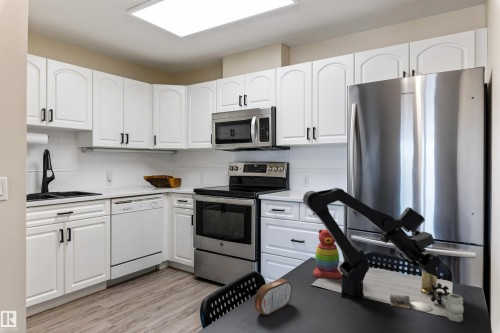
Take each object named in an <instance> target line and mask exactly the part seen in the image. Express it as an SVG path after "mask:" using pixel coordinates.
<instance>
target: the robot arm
mask: <svg viewBox="0 0 500 333" xmlns="http://www.w3.org/2000/svg"><path fill="white" fill-rule="evenodd" d="M302 202H303V204H304V205H305V206H306V207H307V208H308V209H309V211H310V212H312V213H313V214H314V215H315V216H316V217H317V218H318V220H320V223H322V225H323V226H324V228H325V230H327V231H328V232H329V233H330V235H331V236H332V238H333V239H334V241H335V243H336V246H337V247H338V248H339V250H340V251H341V254H342V258H343V260H344V261H342V263H341V264H340V265H338V269H339V271H340V272H341V276H342V277H341V291H340V297H344V298H350V299H357V300H362V296H364V280H365V277H366V275H367V273H368V271H369V270H370V266H371V265H370V262H369V260H370V259H369V258H368V257H367V256H366V254H365V252H364V250H363V249H362V248H360V247H359V246H357V245H354V246H353V245H352V243H351V241H350V240H349V239H348V237H347V236H346V234H345V232H344V231H343V230H342V228H341V227H340V226H339V224H338V223H337V221H336V220H335V219H334V217H333V215H332V214H331V213H330V210H329V206H328V205H331V204H334V203H336V202H340V203H341V204H343V205H344V206H346V207H347V208H349V209H350V210H352V211H354V212H355V213H357V214H359V215H360V216H362V217H363V218H364V219H365V220H366V221H367V222H369V224H371V226H373V227H374V228H375V229H377V230H379V231H382V233H380V241H381V242H383V243H385V244H387V243H388V242H390V243H391V244H392V245H393V246H394V248H395V255H396V256H397V257H398V258H400V260H404V261H405V262H406V263H408V264H410V265H412V266H414V267H417V268H418V269H419V270H420V271H421V272H422V271H424V272H426V273H428V274H431V275H434V276H436V277H437V278H438V277H439V275H440V273H439V271H438V267H440V265H441V264H442V263H443V259H442V258H441V257H440V256H439V255H438V254H436V253H432V252H427V253H428V254H423V253H426V251H427V249H426V248H428V247H430V246H432V245H435V244H436V241H435V239H434V236H433V235H432V233H429V232H426V231H419V230H418V228H419V227H420V226H421V225H422V224H423V223H425V221H426V219H425V217H424V216H423V215H422V214H419V212H417V211H415V210H414V209H413V208H412V207H406V208H405V209H404V210H403V212H402V213H401V214H400V215H399V216H398V217H395V216H391V214H387V213H384V212H382V211H379V210H376V209H375V208H372V207H370V206H369V205H367V204H365V203H364V202H363V201H360V200H359V199H357V198H356V197H354V196H352V195H351V194H350V193H348V192H346V191H345V190H344V189H343V188H339V187H334V188H331V189H323V190H319V191H314V190H309V191H306V192H305V193H304V194H303V197H302ZM383 232H384V233H383ZM410 232H411V233H412V235H411V237H410V236H409V234H408V233H410ZM435 254H436V255H435ZM437 255H438V256H437ZM404 258H405V259H404ZM436 268H437V269H436Z"/></svg>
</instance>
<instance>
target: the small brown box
mask: <svg viewBox="0 0 500 333" xmlns="http://www.w3.org/2000/svg"><path fill="white" fill-rule="evenodd" d="M410 299H411V298H410V295H405V294H396V293H390V294H389V302H390V306H391V307H396V308H397V307H398V308H404V309H411V306H410V303H411V302H410Z"/></svg>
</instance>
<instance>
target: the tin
mask: <svg viewBox="0 0 500 333" xmlns="http://www.w3.org/2000/svg"><path fill="white" fill-rule="evenodd" d="M292 292H293V286H292V283H291V282H290V281H288V280H287V279H284V278H278V279H275V280H273V281H271V282H268V283H265V284H263V285H262V286H261V287H259V289H258V290H257V292H256V294H255V297H254V302H253V305H254V309H255V311H256V312H257V313H260V314H261V315H263V316H268V315H270V314H273V313H275V312H276V311H278V310H280V309H282V308H285V307H286V306H287V305H288V304H289V303H290V300H291V298H292V294H293V293H292Z"/></svg>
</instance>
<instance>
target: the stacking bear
mask: <svg viewBox="0 0 500 333" xmlns="http://www.w3.org/2000/svg"><path fill="white" fill-rule="evenodd" d="M318 240H319V242H320V243H318V245H317V246H316V249H315V255H314V256H315V258H314V259H315V263H316V268H315V269H314V270H313V272H312V275H313V277H315V278H320V279H321V278H329V279H334V280H340V279H342V272H341V271H340V269H339V264H340V252H339V250H338V245H337V244H335V243H336V242H335V241H334V239H333V238H332V236H331V235H330V233H329V232H328V231H327V229H319V230H318Z"/></svg>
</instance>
